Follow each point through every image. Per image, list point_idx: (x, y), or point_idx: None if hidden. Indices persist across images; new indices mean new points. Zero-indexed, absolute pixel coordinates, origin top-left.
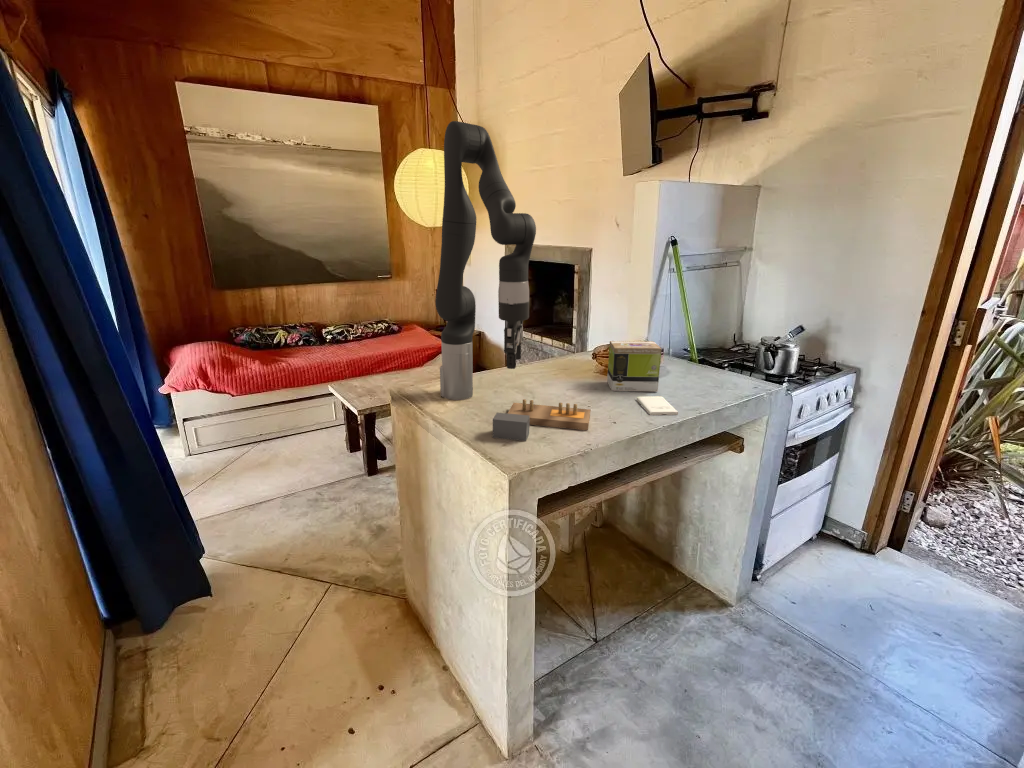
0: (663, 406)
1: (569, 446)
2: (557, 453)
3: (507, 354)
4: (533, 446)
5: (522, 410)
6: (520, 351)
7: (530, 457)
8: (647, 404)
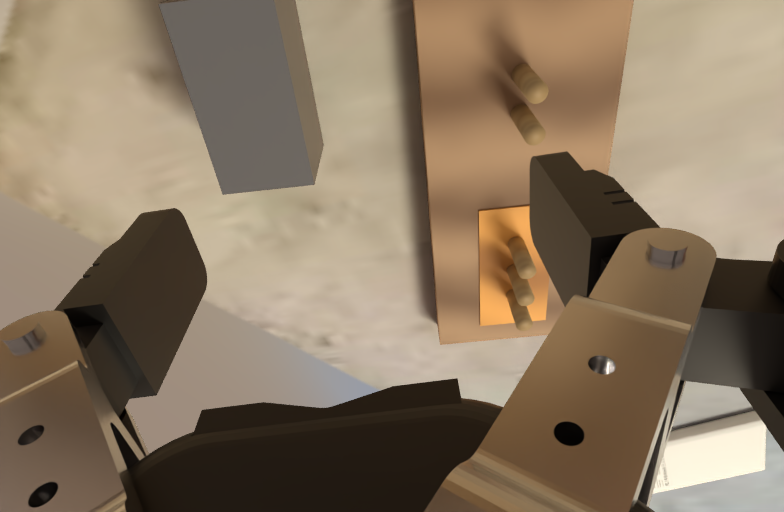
0: (669, 475)
1: (281, 297)
2: (208, 276)
3: (74, 314)
4: (215, 192)
5: (513, 66)
6: (558, 290)
7: (122, 206)
8: (684, 446)
